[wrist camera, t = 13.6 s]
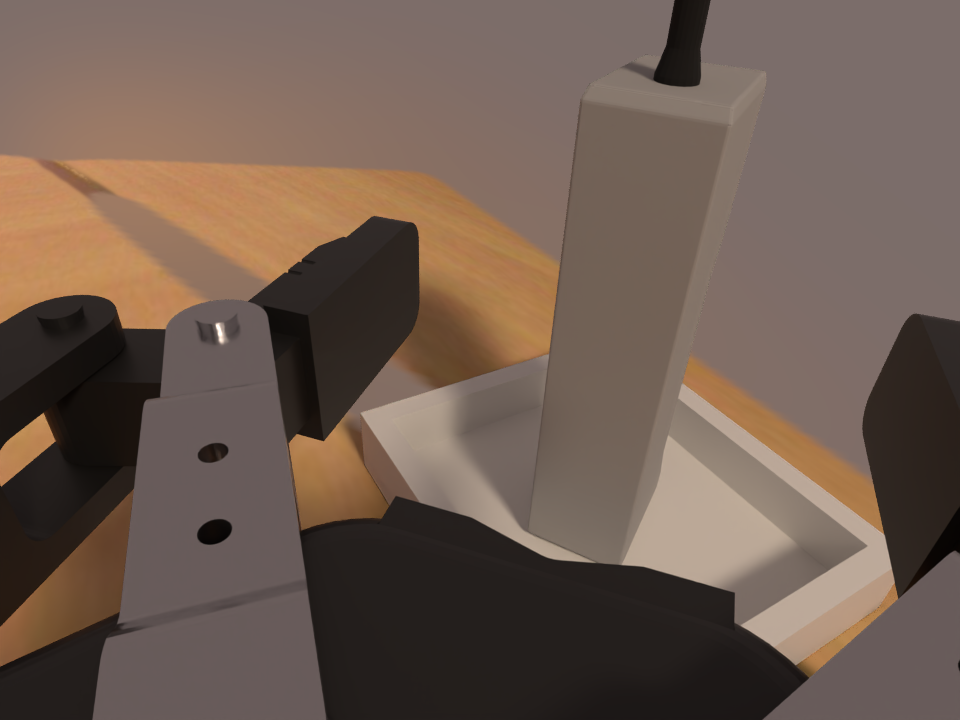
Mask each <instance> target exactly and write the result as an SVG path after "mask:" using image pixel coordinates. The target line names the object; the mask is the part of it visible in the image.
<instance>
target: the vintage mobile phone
mask: <svg viewBox="0 0 960 720" xmlns="http://www.w3.org/2000/svg"><path fill="white" fill-rule="evenodd" d="M709 5H710V0H675V1H674V7H673V12H672V17H671V23H670V28H669V34H668V39H667V45H666V47H665V50H664V52H663V54H662V56H661V57H658V56H652V55H644V56H642V57H640V58H638V59H636V60H634V61H632V62H631V63H629V64H627V65H625V66H623V67H621V68H619V69H617V70H615V71H613V72H611V73H610V74H607V75H606V76H604V77H602V78H600V79H598V80H596V81H594V82H592V83H590V84H589V86H588V87H587V89H586V91H585V93H584V94H583V96H582V98H581V101H580V108H579V116H578V124H577V133H576V141H575V149H574V158H573V165H572V173H571V182H570V189H569V198H568V206H567V214H566V222H565V230H564V238H563V247H562V254H561V262H560V271H559V279H558V287H557V295H556V303H555V311H554V319H553V327H552V336H551V344H550V352H549V360H548V368H547V376H546V384H545V393H544V401H543V409H542V417H541V425H540V433H539V441H538V449H537V458H536V466H535V474H534V482H533V490H532V498H531V506H530V514H529V523H528V531H529V532H530V533H532V534H534V535H536V536H539V537H541V538H543V539H545V540H548V541H550V542H552V543H554V544H557V545H559V546H561V547H564V548H566V549H568V550H570V551H573V552H575V553H577V554H580V555H582V556H584V557H586V558H589V559H591V560H593V561H596V562H598V563H604V564H617V565H622V563H623V561H624V559H625V557H626V554H627V552H628V550H629V548H630V545H631V543H632V541H633V539H634V536H635V534H636V532H637V530H638V527H639V525H640V523H641V521H642V518H643V516H644V514H645V512H646V509H647V507H648V505H649V503H650V501H651V498H652V496H653V494H654V492H655V489H656V487H657V484H658V480H659V476H660V473H661V466H662V459H663V453H664V448H665V445H666V441H667V437H668V433H669V430H670V426H671V422H672V419H673V415H674V411H675V408H676V404H677V400H678V396H679V393H680V389H681V385H682V382H683V378H684V374H685V370H686V367H687V363H688V359H689V356H690V352H691V348H692V344H693V340H694V337H695V333H696V329H697V326H698V322H699V318H700V314H701V311H702V307H703V304H704V300H705V296H706V293H707V289H708V285H709V281H710V278H711V274H712V271H713V267H714V265H715V262H716V258H717V255H718V252H719V249H720V246H721V243H722V240H723V237H724V233H725V230H726V226H727V223H728V219H729V216H730V212H731V208H732V205H733V201H734V198H735V194H736V191H737V187H738V184H739V180H740V177H741V173H742V169H743V166H744V162H745V159H746V155H747V152H748V148H749V144H750V141H751V138H752V134H753V130H754V127H755V123H756V119H757V116H758V113H759V109H760V106H761V102H762V99H763V95H764V91H765V88H766V72H765V71H761V70H753V69H746V68H739V67H731V66H724V65H717V64H710V63H702V62H701V54H700V48H701V43H702V38H703V33H704V29H705V24H706V19H707V15H708V10H709Z"/></svg>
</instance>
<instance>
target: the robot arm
mask: <svg viewBox="0 0 960 720" xmlns="http://www.w3.org/2000/svg"><path fill="white" fill-rule="evenodd" d="M418 310H419V236H418V230H417V227H416V225H415V224H414V223H411V222H405V221H400V220H394V219H388V218H383V217H377V216H373V217H371V218H370V219H368V220H367V221H366V222H365V223H364V224H362V225H361V226H360V227H359V228H357V229H356V230H355V231H354V232H352V233H351V234H350V235H349V236H348V237H342V238H339V239H336V240H334V241H331V242H328V243H326V244H323V245H321V246H318V247H317V248H316V249H314V250H313V251H312V252H310V253H309V254H308V255H307V256H305V257H304V258H303V259H302V262H298V263H296V264H295V265H294V266H293V267H291V268H290V269H289V270H288V273H284V274H282V275H281V276H280V277H278V278H277V279H276V280H275V281H273V282H272V283H271V284H270V285H268V286H267V287H266V288H264V289H263V290H262V291H261V292H259V293H258V294H257V295H255V296H254V297H253V298H252V299H250V300H249V301H248V302H247V301H242V300H216V301H209V302H205V303H201V304H198V305H195V306H192V307H190V308H187V309H185V310H183V311H182V312H180V313H178V314H177V315H176V316H174V317H173V318H172V319H171V320H170V321H169V323H168V325H167V327H166V329H122V326H121V322H120V319H119V316H118V313H117V310H116V307H115V305H114V304H113V303H112V302H111V301H110V300H108V299H105V298H102V297H98V296H92V295H73V296H64V297H59V298H54V299H50V300H47V301H44V302H41V303H38V304H35V305H33V306H31V307H28V308H27V309H25V310H23V311H21V312H19V313H18V314H16V315H14V316H13V317H11V318H9V319H8V320H6V321H4V322H3V323H1V324H0V450H1V448H2V447H3V445H4V444H5V443H6V442H7V441H8V440H9V439H10V438H11V437H13V436H14V435H15V434H16V433H18V432H19V431H20V430H22V429H23V428H24V427H25V426H27V425H28V424H29V423H31V422H32V421H33V420H34V419H36V418H37V417H38V416H40V415H41V414H42V413H44V415H45V417H46V420H47V422H48V424H49V427H50V429H51V431H52V433H53V436H54V438H55V440H56V442H54V443H53V444H52V445H51V446H50V447H48V448H47V449H46V450H45V451H44V452H42V453H41V454H40V455H39V456H38V457H36V458H35V459H34V460H33V461H32V462H30V463H29V464H28V465H27V466H26V467H24V468H23V469H22V470H21V471H20V472H19V473H17V474H16V475H15V476H14V477H13V478H11V479H10V480H9V481H8V482H7V483H5V484H4V485H3V486H2V487H1V486H0V626H1V625H2V624H3V623H4V622H5V621H6V620H7V619H8V618H9V617H10V616H11V615H12V614H13V613H14V612H15V611H16V610H17V609H18V608H19V607H20V606H21V605H22V604H23V603H24V602H25V601H26V599H27V598H28V597H29V596H30V595H31V594H32V593H33V592H34V591H35V590H36V589H37V588H38V587H39V586H40V585H41V584H42V583H43V582H44V581H45V580H46V579H47V578H48V577H49V576H50V575H51V574H52V573H53V572H54V571H55V570H56V568H57V567H58V566H59V565H60V564H61V563H62V562H63V561H64V560H65V559H66V558H67V557H68V556H69V555H70V554H71V553H72V552H73V551H74V550H75V549H76V548H77V547H78V546H79V545H80V544H81V543H82V542H83V541H84V540H85V538H86V537H87V536H88V535H89V534H90V533H91V532H92V531H93V530H94V529H95V528H96V527H97V526H98V525H99V524H100V523H101V522H102V521H103V520H104V519H105V518H106V517H107V516H108V515H109V514H110V513H111V512H112V511H113V510H114V508H115V507H116V506H117V505H118V504H119V503H120V502H121V501H122V500H123V499H124V498H125V497H126V496H127V495H128V494H129V493H130V492H131V491H132V490H133V489H134V493H133V502H132V511H131V520H130V529H129V538H128V546H127V555H126V564H125V573H124V582H123V591H122V600H121V608H120V612H119V613H117V614H115V615H113V616H111V617H108V618H106V619H104V620H102V621H100V622H97V623H95V624H93V625H91V626H89V627H86V628H84V629H82V630H80V631H78V632H75V633H73V634H71V635H69V636H67V637H64V638H62V639H60V640H58V641H56V642H53V643H51V644H49V645H47V646H45V647H43V648H40V649H38V650H36V651H34V652H32V653H29V654H27V655H25V656H23V657H21V658H18V659H16V660H14V661H12V662H10V663H7V664H5V665H3V666H1V667H0V720H960V321H954V320H949V319H943V318H937V317H932V316H926V315H921V314H913V315H911V316H910V317H909V318H908V319H907V320H906V322H905V323H904V325H903V327H902V328H901V330H900V333H899V335H898V337H897V339H896V341H895V343H894V345H893V347H892V350H891V351H890V354H889V356H888V358H887V360H886V362H885V364H884V366H883V368H882V371H881V373H880V375H879V377H878V379H877V381H876V383H875V385H874V387H873V390H872V392H871V394H870V396H869V398H868V401H867V404H866V407H865V412H864V417H863V428H862V429H863V437H864V442H865V447H866V452H867V456H868V461H869V465H870V470H871V475H872V479H873V484H874V489H875V493H876V498H877V502H878V507H879V512H880V516H881V521H882V526H883V530H884V535H885V539H886V544H887V549H888V553H889V558H890V563H891V567H892V572H893V576H894V581H895V586H896V590H897V595H898V600H897V601H896V602H894V603H893V604H892V605H891V606H890V607H889V608H888V609H887V610H885V611H884V612H883V613H882V614H881V615H880V616H879V617H878V618H876V619H875V620H874V621H873V622H872V623H871V624H870V625H869V626H867V627H866V628H865V629H864V630H863V631H862V632H861V633H860V634H858V635H857V636H856V637H855V638H854V639H853V640H852V641H851V642H849V643H848V644H847V645H846V646H845V647H844V648H843V649H842V650H840V651H839V652H838V653H837V654H836V655H835V656H834V657H833V658H831V659H830V660H829V661H828V662H827V663H826V664H825V665H824V666H823V667H821V668H820V669H819V670H818V671H817V672H816V673H815V674H814V675H812V676H811V677H810V678H809V677H808V676H807V675H806V674H805V673H804V672H802V671H801V670H800V669H799V668H798V667H797V666H796V665H795V664H794V663H793V662H792V661H791V660H789V659H788V658H787V657H786V656H784V655H783V654H782V653H780V652H779V651H778V650H777V649H775V648H774V647H773V646H772V645H770V644H769V643H767V642H766V641H764V640H763V639H761V638H760V637H758V636H757V635H755V634H753V633H752V632H750V631H749V630H747V629H745V628H744V627H742V626H740V625H738V624H736V623H734V618H735V593H734V592H731V591H727V590H724V589H720V588H717V587H713V586H710V585H706V584H703V583H699V582H696V581H692V580H689V579H685V578H682V577H678V576H675V575H671V574H668V573H664V572H661V571H657V570H654V569H650V568H647V567H643V566H630V565H617V564H604V563H591V562H578V561H565V560H555V559H551V558H547V557H545V556H543V555H540V554H539V553H537V552H535V551H533V550H531V549H529V548H527V547H526V546H524V545H522V544H520V543H518V542H516V541H514V540H513V539H511V538H509V537H507V536H505V535H503V534H501V533H500V532H498V531H496V530H494V529H492V528H490V527H488V526H487V525H485V524H483V523H481V522H479V521H477V520H475V519H474V518H472V517H468V516H465V515H461V514H458V513H454V512H451V511H447V510H444V509H440V508H437V507H433V506H430V505H426V504H423V503H419V502H416V501H412V500H409V499H405V498H402V497H398V496H395V498H394V499H393V501H392V503H391V504H390V506H389V508H388V509H387V511H386V513H385V514H384V516H383V518H382V519H378V518H363V519H349V520H341V521H334V522H330V523H325V524H321V525H317V526H313V527H310V528H307V529H304V530H302V527H301V521H300V514H299V508H298V501H297V495H296V488H295V482H294V475H293V469H292V462H291V456H290V450H289V444H288V443H289V442H290V441H291V440H292V439H293V437H294V436H295V435H296V434H299V435H303V436H306V437H310V438H314V439H317V440H321V441H324V440H325V439H326V438H327V437H328V435H329V434H330V433H331V432H332V430H333V429H334V428H335V427H336V425H337V424H338V423H339V422H340V420H341V419H342V418H343V417H344V415H345V414H346V413H347V412H348V410H349V409H350V408H351V407H352V405H353V404H354V403H355V402H356V400H357V399H358V398H359V397H360V395H361V394H362V393H363V392H364V390H365V389H366V388H367V387H368V385H369V384H370V383H371V382H372V380H373V379H374V378H375V377H376V375H377V374H378V373H379V372H380V370H381V369H382V368H383V367H384V365H385V364H386V363H387V362H388V360H389V359H390V358H391V357H392V355H393V354H394V353H395V352H396V350H397V349H398V348H399V347H400V345H401V344H402V343H403V342H404V340H405V339H406V338H407V337H408V335H409V334H410V333H411V331H412V329H413V327H414V325H415V322H416V319H417V315H418Z"/></svg>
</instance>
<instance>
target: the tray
mask: <svg viewBox="0 0 960 720" xmlns="http://www.w3.org/2000/svg"><path fill="white" fill-rule="evenodd" d="M548 360H549V354H547V355H544V356H541V357H538V358H534V359H531V360H528V361H525V362H522V363H518V364H515V365H512V366H509V367H505V368H502V369H499V370H496V371H493V372H489V373H486V374H483V375H480V376H477V377H473V378H470V379H467V380H464V381H461V382H457V383H454V384H451V385H448V386H445V387H441V388H438V389H435V390H432V391H429V392H425V393H422V394H420V395H416V396H413V397H410V398H406V399H403V400H400V401H397V402H393V403H390V404H387V405H384V406H381V407H378V408H374V409H371V410H368V411H365V412H362V413H360V417H361V429H362V442H363V455H364V465H365V466H366V468H367V470H368V471H369V473H370V474H371V476H372V478H373V479H374V481H375V483H376V484H377V486H378V487H379V489H380V491H381V492H382V494H383V496H384V497H385V499H386V500H387V502H388V504H389V505H390V504H391V503H392V501H393V499H394V498H395V496H398V497H402V498H405V499H409V500H412V501H416V502H419V503H423V504H426V505H430V506H433V507H437V508H440V509H444V510H447V511H451V512H454V513H458V514H461V515H465V516H468V517H472V518H474V519H475V520H477V521H479V522H481V523H483V524H485V525H487V526H488V527H490V528H492V529H494V530H496V531H498V532H500V533H501V534H503V535H505V536H507V537H509V538H511V539H513V540H514V541H516V542H518V543H520V544H522V545H524V546H526V547H527V548H529V549H531V550H533V551H535V552H537V553H539V554H540V555H543V556H545V557H547V558H551V559H555V560H565V561H578V562H591V563H598V562H596V561H593V560H591V559H589V558H586V557H584V556H582V555H580V554H577V553H575V552H573V551H570V550H568V549H566V548H564V547H561V546H559V545H557V544H554V543H552V542H550V541H548V540H545V539H543V538H541V537H539V536H536V535H534V534H532V533H530V532H529V531H528V523H529V514H530V506H531V498H532V490H533V482H534V474H535V466H536V458H537V449H538V441H539V433H540V425H541V417H542V409H543V401H544V393H545V384H546V376H547V368H548ZM622 565H630V566H643V567H647V568H650V569H654V570H657V571H661V572H664V573H668V574H671V575H675V576H678V577H682V578H685V579H689V580H692V581H696V582H699V583H703V584H706V585H710V586H713V587H717V588H720V589H724V590H727V591H731V592H734V593H735V618H734V623H736V624H738V625H740V626H742V627H744V628H745V629H747V630H749V631H750V632H752V633H753V634H755V635H757V636H758V637H760V638H761V639H763V640H764V641H766V642H767V643H769V644H770V645H772V646H773V647H774V648H775V649H777V650H778V651H779V652H780V653H782V654H783V655H784V656H786V657H787V658H788V659H789V660H791V661H792V662H793V663H794V664H795V665H797V664H798V663H800V662H801V661H803V660H804V659H805V658H807V657H808V656H810V655H811V654H813V653H814V652H815V651H817V650H818V649H820V648H821V647H823V646H824V645H825V644H827V643H828V642H830V641H831V640H833V639H834V638H836V637H837V636H838V635H840V634H841V633H843V632H844V631H846V630H847V629H848V628H850V627H851V626H853V625H854V624H856V623H857V622H858V621H860V620H861V619H863V618H864V617H866V616H867V615H869V614H870V613H871V612H873V611H874V610H876V609H877V608H879V606H880V604H881V603H882V601H883V600H884V598H885V597H886V595H887V593H888V592H889V590H890V589H891V587H892V586H893V584H894V582H895V581H894V576H893V572H892V567H891V563H890V558H889V553H888V549H887V544H886V539H885V535H884V534H883V533H881V532H880V531H879V530H877V529H876V528H875V527H873V526H872V525H871V524H869V523H868V522H867V521H865V520H864V519H863V518H861V517H860V516H859V515H857V514H856V513H855V512H853V511H852V510H851V509H849V508H848V507H847V506H845V505H844V504H843V503H841V502H840V501H839V500H837V499H836V498H835V497H833V496H832V495H831V494H829V493H828V492H827V491H825V490H824V489H823V488H821V487H820V486H819V485H817V484H816V483H815V482H813V481H812V480H811V479H809V478H808V477H807V476H805V475H804V474H803V473H801V472H800V471H799V470H797V469H796V468H795V467H793V466H792V465H791V464H789V463H788V462H787V461H785V460H784V459H783V458H781V457H780V456H779V455H777V454H776V453H775V452H773V451H772V450H771V449H769V448H768V447H767V446H765V445H764V444H763V443H761V442H760V441H759V440H757V439H756V438H755V437H753V436H752V435H751V434H749V433H748V432H747V431H745V430H744V429H743V428H741V427H740V426H739V425H737V424H736V423H735V422H733V421H732V420H731V419H729V418H728V417H727V416H725V415H724V414H723V413H721V412H720V411H719V410H717V409H716V408H715V407H713V406H712V405H711V404H709V403H708V402H707V401H705V400H704V399H703V398H701V397H700V396H699V395H697V394H696V393H695V392H693V391H692V390H691V389H689V388H688V387H687V386H685V385H684V384H683V383H682V385H681V389H680V393H679V396H678V400H677V404H676V408H675V411H674V415H673V419H672V422H671V426H670V430H669V433H668V437H667V441H666V445H665V448H664V453H663V459H662V466H661V473H660V476H659V480H658V484H657V487H656V489H655V492H654V494H653V496H652V498H651V501H650V503H649V505H648V507H647V509H646V512H645V514H644V516H643V518H642V521H641V523H640V525H639V527H638V530H637V532H636V534H635V536H634V539H633V541H632V543H631V545H630V548H629V550H628V552H627V554H626V557H625V559H624V561H623V563H622Z"/></svg>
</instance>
